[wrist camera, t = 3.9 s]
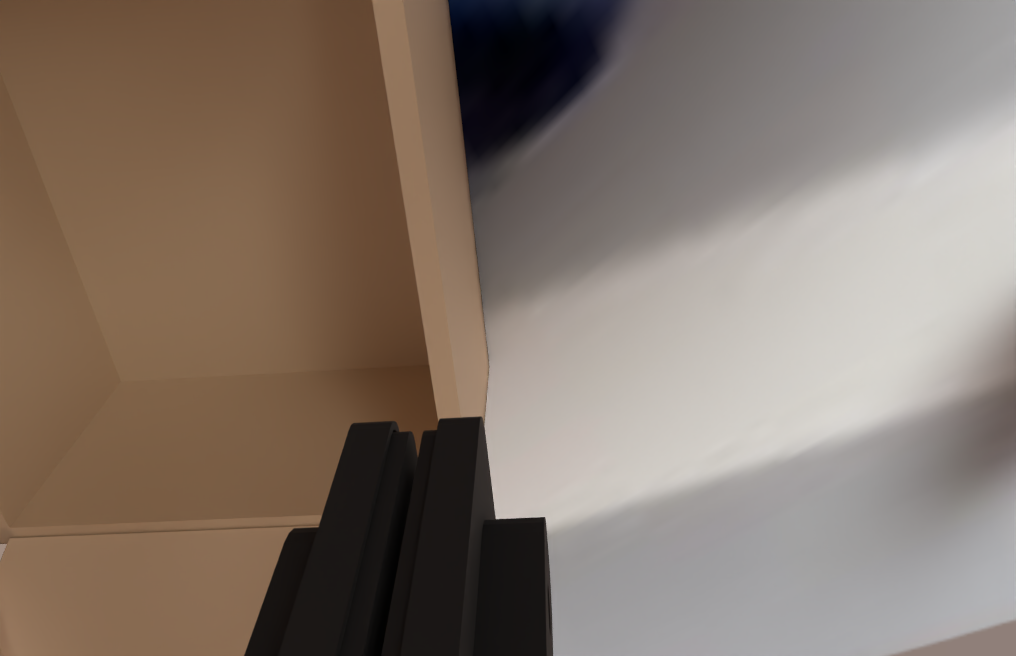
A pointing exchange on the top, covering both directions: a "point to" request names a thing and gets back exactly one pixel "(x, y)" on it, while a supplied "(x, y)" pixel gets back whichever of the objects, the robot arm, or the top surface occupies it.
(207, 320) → the carton
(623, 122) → the top surface
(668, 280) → the top surface
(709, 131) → the top surface
